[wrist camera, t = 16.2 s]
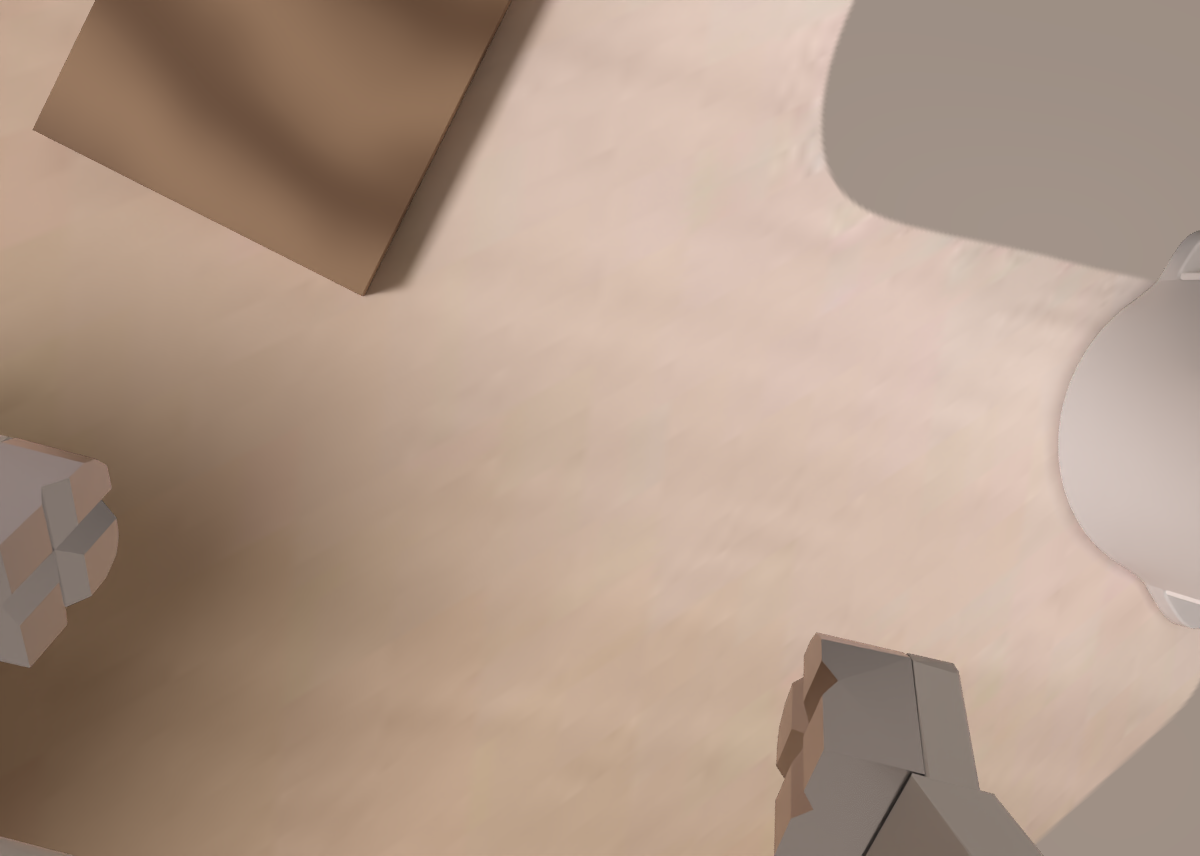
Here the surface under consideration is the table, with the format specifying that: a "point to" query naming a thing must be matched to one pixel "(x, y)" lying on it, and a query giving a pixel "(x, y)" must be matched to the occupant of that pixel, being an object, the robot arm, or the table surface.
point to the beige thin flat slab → (275, 111)
